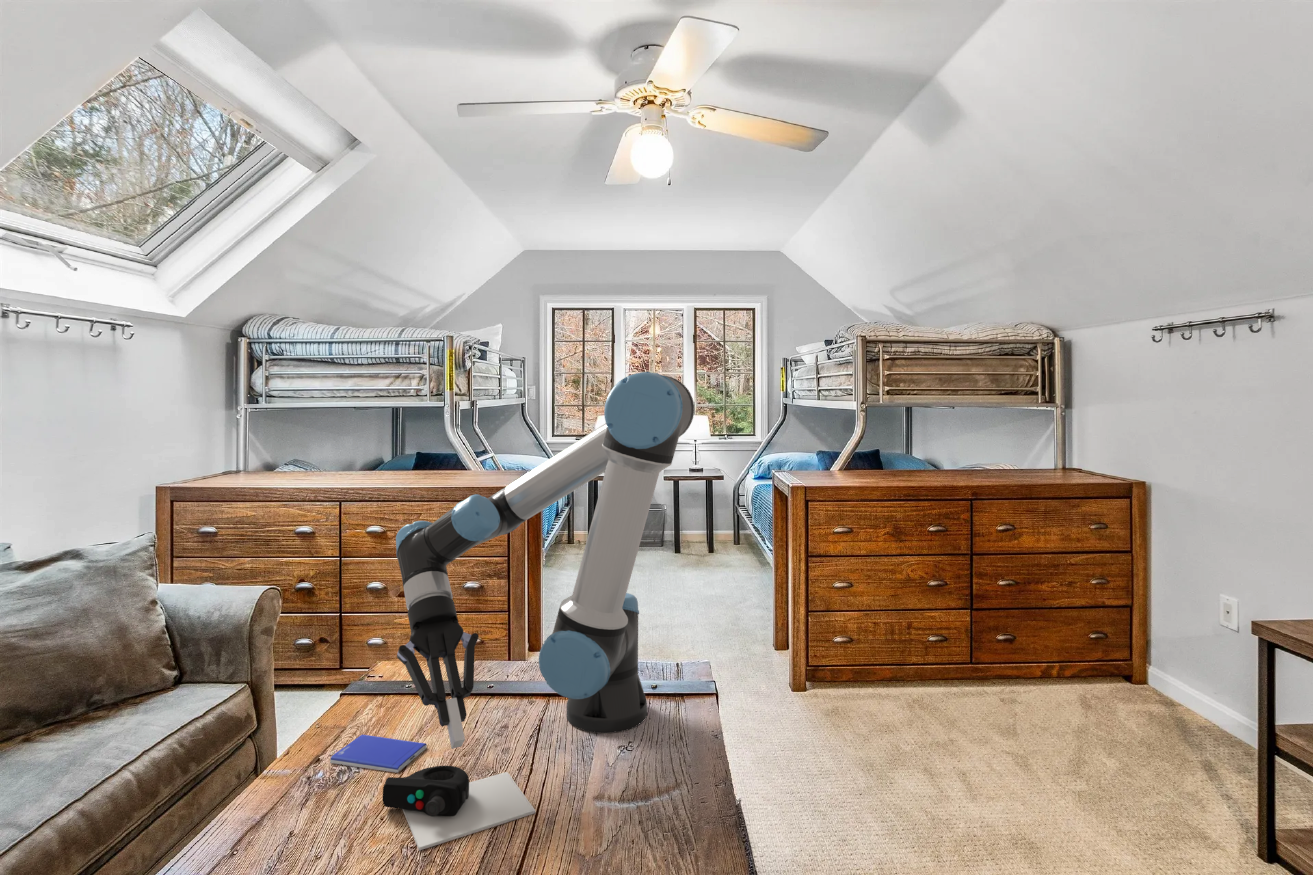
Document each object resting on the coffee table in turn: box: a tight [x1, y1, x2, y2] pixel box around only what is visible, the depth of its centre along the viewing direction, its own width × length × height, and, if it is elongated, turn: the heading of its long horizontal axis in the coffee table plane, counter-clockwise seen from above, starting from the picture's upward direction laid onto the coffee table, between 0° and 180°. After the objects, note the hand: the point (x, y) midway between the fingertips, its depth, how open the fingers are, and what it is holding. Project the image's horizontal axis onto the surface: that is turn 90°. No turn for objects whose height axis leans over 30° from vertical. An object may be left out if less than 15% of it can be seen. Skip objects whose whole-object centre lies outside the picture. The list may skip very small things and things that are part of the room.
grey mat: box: [401, 771, 536, 851], centre depth 98 cm, size 16×12×1 cm
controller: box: [382, 765, 470, 817], centre depth 98 cm, size 4×12×10 cm
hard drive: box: [329, 734, 428, 773], centre depth 113 cm, size 2×8×12 cm
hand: (458, 743), depth 101 cm, fingers closed
